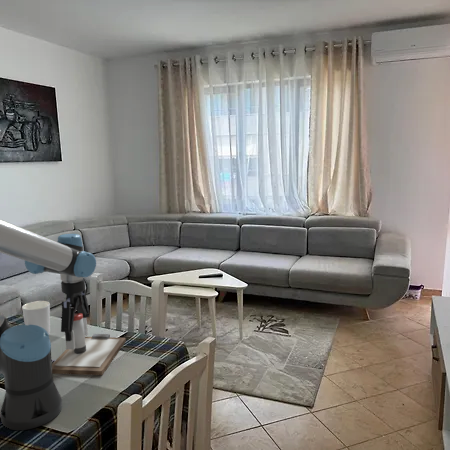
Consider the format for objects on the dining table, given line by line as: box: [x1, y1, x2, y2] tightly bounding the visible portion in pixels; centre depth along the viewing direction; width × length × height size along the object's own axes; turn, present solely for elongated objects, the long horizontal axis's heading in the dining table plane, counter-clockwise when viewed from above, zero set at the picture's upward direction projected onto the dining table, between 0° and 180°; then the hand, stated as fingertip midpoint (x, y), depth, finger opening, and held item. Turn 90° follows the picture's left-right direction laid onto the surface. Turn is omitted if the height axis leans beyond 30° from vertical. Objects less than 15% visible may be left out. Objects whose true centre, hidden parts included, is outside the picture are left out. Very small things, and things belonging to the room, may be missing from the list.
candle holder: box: [21, 300, 51, 335], centre depth 162 cm, size 10×10×12 cm
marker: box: [72, 312, 86, 354], centre depth 144 cm, size 4×4×13 cm
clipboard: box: [52, 333, 127, 376], centre depth 145 cm, size 18×24×3 cm
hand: (77, 341), depth 144 cm, fingers open, 10 cm apart
